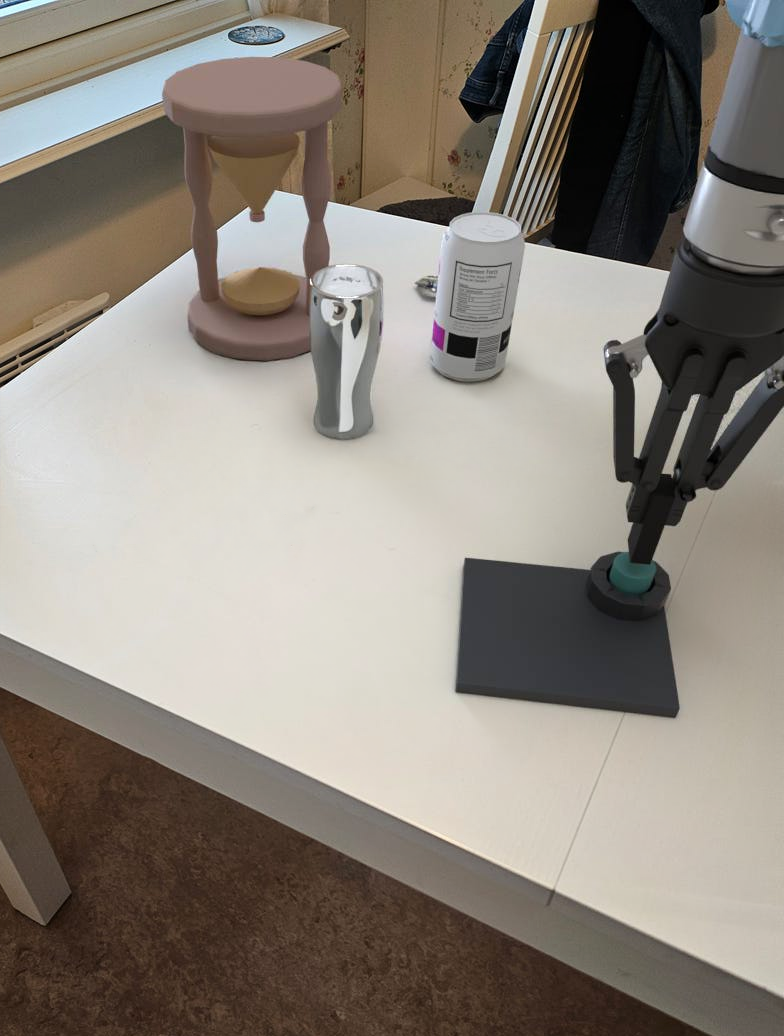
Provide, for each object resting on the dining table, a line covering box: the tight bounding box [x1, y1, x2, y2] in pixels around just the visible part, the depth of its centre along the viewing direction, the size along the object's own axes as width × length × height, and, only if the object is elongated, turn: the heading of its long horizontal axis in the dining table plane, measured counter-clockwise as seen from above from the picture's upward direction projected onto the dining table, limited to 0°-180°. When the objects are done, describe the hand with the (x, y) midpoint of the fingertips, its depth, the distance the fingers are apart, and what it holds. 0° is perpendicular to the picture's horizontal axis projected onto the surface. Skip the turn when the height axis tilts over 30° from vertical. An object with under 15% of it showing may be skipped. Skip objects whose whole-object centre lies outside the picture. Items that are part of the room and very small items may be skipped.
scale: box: [454, 551, 681, 719], centre depth 70 cm, size 16×15×3 cm
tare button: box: [609, 551, 656, 594], centre depth 71 cm, size 3×3×2 cm
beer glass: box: [308, 263, 384, 440], centre depth 86 cm, size 7×7×15 cm
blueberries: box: [414, 275, 438, 298], centre depth 110 cm, size 7×8×2 cm
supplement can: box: [429, 211, 526, 383], centre depth 93 cm, size 8×8×15 cm
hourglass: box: [161, 56, 343, 362], centre depth 97 cm, size 18×18×25 cm
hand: (638, 551), depth 69 cm, fingers closed
